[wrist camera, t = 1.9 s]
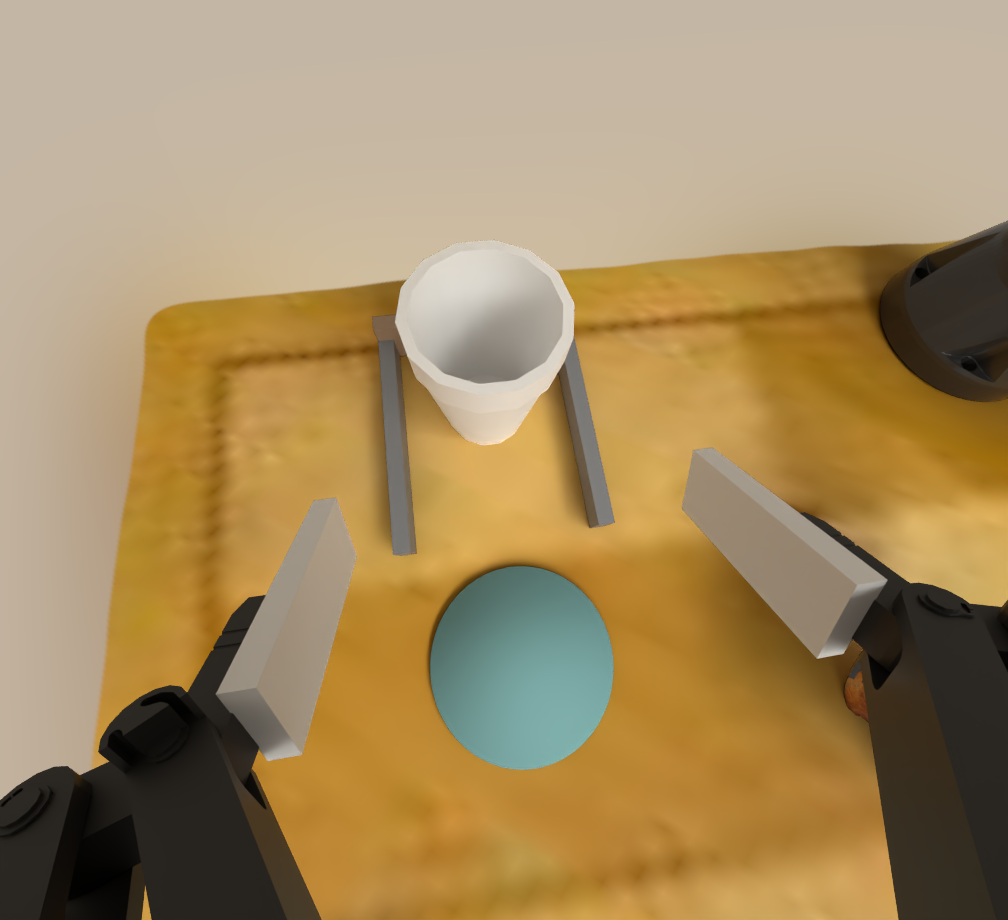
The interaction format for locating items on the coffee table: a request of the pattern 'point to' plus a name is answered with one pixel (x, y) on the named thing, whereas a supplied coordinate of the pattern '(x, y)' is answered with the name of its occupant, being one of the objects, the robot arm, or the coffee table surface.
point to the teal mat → (521, 667)
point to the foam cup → (485, 333)
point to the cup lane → (398, 448)
